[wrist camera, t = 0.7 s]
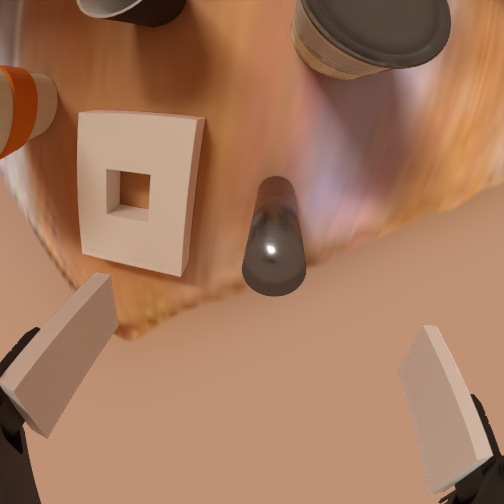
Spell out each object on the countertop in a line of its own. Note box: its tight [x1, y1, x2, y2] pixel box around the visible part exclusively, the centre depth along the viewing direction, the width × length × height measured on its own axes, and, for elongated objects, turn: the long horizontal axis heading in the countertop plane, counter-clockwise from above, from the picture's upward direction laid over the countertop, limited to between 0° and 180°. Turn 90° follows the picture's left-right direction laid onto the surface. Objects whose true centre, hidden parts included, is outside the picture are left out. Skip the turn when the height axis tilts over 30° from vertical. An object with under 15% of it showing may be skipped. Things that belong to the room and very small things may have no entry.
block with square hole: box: [77, 110, 205, 277], centre depth 32 cm, size 18×14×4 cm
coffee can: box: [291, 0, 451, 80], centre depth 18 cm, size 10×10×14 cm
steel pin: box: [242, 176, 306, 296], centre depth 26 cm, size 4×4×16 cm
